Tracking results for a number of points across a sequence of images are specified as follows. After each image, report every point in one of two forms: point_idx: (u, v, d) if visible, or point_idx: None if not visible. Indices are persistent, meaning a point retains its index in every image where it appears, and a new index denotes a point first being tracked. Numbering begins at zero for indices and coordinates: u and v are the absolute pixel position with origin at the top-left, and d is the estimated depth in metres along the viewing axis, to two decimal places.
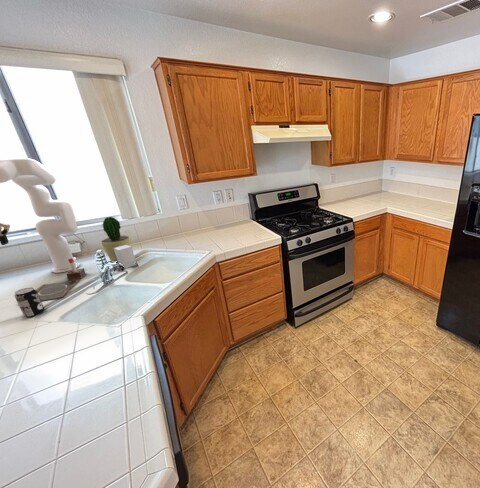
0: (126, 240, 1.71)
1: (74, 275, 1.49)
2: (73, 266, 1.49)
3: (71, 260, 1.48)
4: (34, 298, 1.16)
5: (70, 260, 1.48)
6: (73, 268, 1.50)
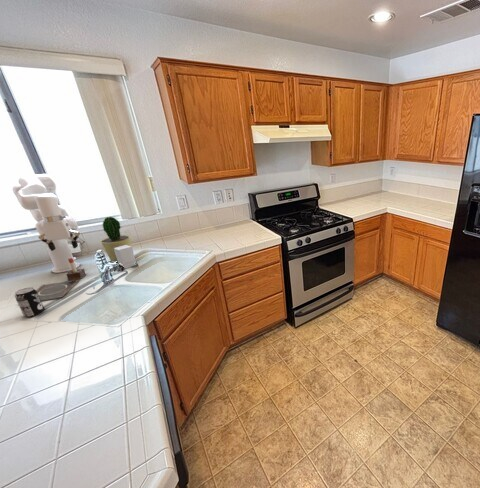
0: (126, 240, 1.71)
1: (74, 275, 1.49)
2: (73, 266, 1.49)
3: (71, 260, 1.48)
4: (34, 298, 1.16)
5: (70, 260, 1.48)
6: (73, 268, 1.50)
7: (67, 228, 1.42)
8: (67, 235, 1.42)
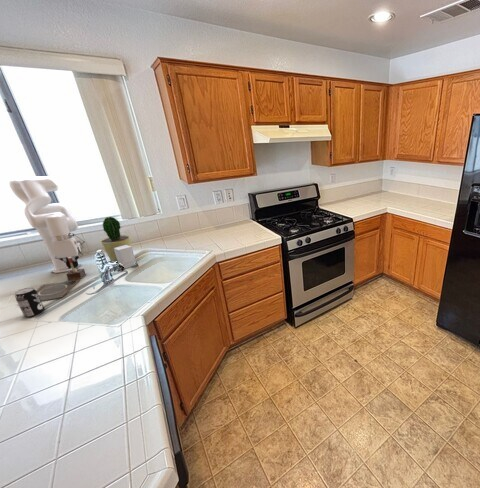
0: (126, 240, 1.71)
1: (74, 275, 1.49)
2: (73, 266, 1.49)
3: (71, 260, 1.48)
4: (34, 298, 1.16)
5: (70, 260, 1.48)
6: (73, 268, 1.50)
7: (75, 246, 1.46)
8: (75, 252, 1.47)
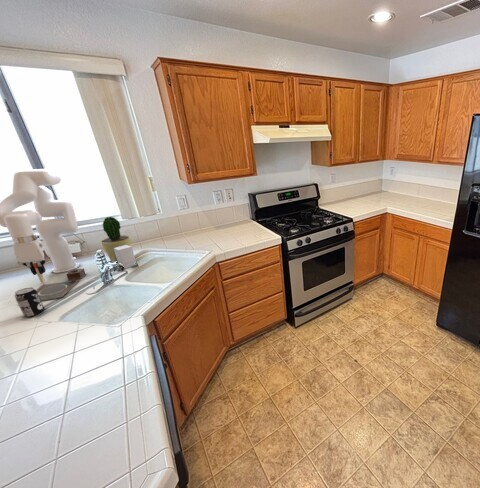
0: (126, 240, 1.71)
1: (74, 275, 1.49)
2: None
3: (36, 265, 1.31)
4: (34, 298, 1.16)
5: (35, 265, 1.31)
6: (39, 274, 1.32)
7: (41, 249, 1.29)
8: (41, 256, 1.30)
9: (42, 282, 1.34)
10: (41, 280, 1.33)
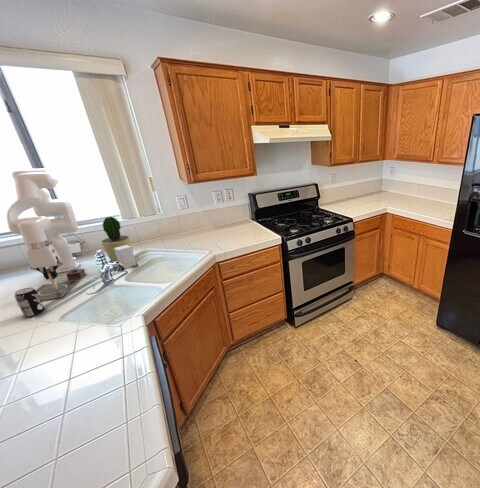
0: (126, 240, 1.71)
1: (74, 275, 1.49)
2: (51, 277, 1.35)
3: (49, 270, 1.33)
4: (34, 298, 1.16)
5: (48, 270, 1.33)
6: (51, 279, 1.35)
7: (53, 254, 1.32)
8: (53, 261, 1.32)
9: (54, 287, 1.36)
10: (53, 285, 1.36)
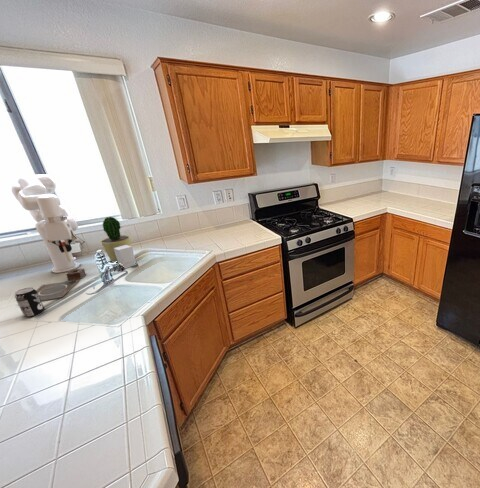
0: (126, 240, 1.71)
1: (74, 275, 1.49)
2: (66, 250, 1.45)
3: (64, 243, 1.44)
4: (34, 298, 1.16)
5: (63, 243, 1.44)
6: (66, 252, 1.45)
7: (68, 229, 1.42)
8: (68, 235, 1.43)
9: (69, 259, 1.47)
10: (68, 257, 1.47)
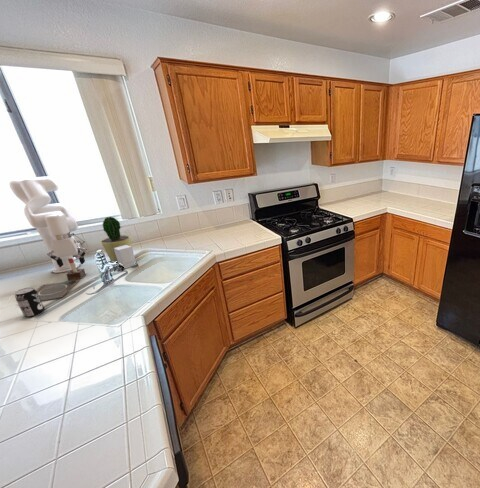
0: (126, 240, 1.71)
1: (74, 275, 1.49)
2: (73, 266, 1.49)
3: (71, 260, 1.48)
4: (34, 298, 1.16)
5: (70, 260, 1.48)
6: (73, 268, 1.49)
7: (75, 245, 1.46)
8: (75, 251, 1.47)
9: None
10: None
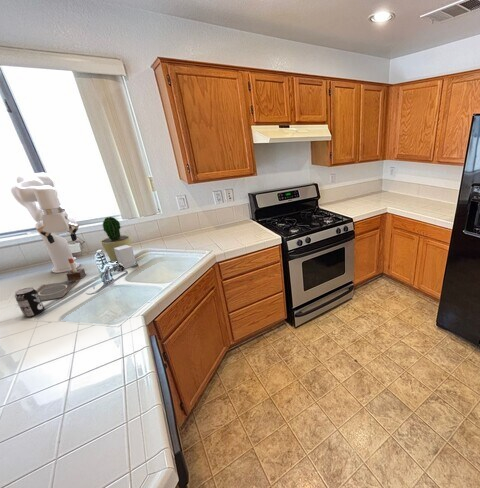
0: (126, 240, 1.71)
1: (74, 275, 1.49)
2: (73, 266, 1.49)
3: (71, 260, 1.48)
4: (34, 298, 1.16)
5: (70, 260, 1.48)
6: (73, 268, 1.49)
7: (66, 221, 1.41)
8: (66, 227, 1.41)
9: None
10: None
